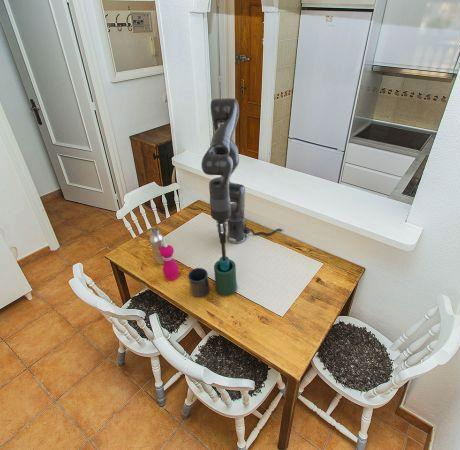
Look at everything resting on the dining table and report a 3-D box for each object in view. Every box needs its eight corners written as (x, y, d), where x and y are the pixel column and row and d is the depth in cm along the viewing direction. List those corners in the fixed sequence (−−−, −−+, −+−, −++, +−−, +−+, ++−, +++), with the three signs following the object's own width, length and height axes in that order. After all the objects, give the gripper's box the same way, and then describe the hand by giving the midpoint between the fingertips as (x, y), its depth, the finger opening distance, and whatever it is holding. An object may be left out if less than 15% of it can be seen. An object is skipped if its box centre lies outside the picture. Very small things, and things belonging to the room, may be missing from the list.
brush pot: (202, 280, 148) (200, 265, 142) (213, 291, 143) (211, 275, 137) (187, 289, 144) (184, 274, 138) (197, 300, 139) (194, 285, 133)
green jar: (228, 277, 150) (226, 255, 141) (240, 289, 144) (239, 266, 136) (212, 287, 145) (209, 265, 137) (224, 299, 139) (222, 277, 131)
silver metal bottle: (165, 267, 156) (158, 235, 144) (152, 265, 157) (144, 233, 145) (170, 258, 161) (164, 226, 149) (158, 256, 162) (150, 225, 150)
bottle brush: (225, 263, 139) (222, 222, 125) (231, 268, 136) (229, 226, 123) (218, 267, 137) (214, 226, 123) (223, 272, 134) (220, 230, 121)
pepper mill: (182, 272, 153) (176, 240, 141) (175, 283, 147) (168, 250, 135) (169, 269, 155) (162, 237, 143) (161, 279, 149) (153, 247, 137)
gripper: (231, 215, 112) (233, 251, 122) (229, 194, 123) (231, 230, 133) (210, 216, 111) (213, 253, 122) (210, 196, 122) (213, 231, 133)
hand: (222, 241), depth 128 cm, fingers closed on bottle brush
